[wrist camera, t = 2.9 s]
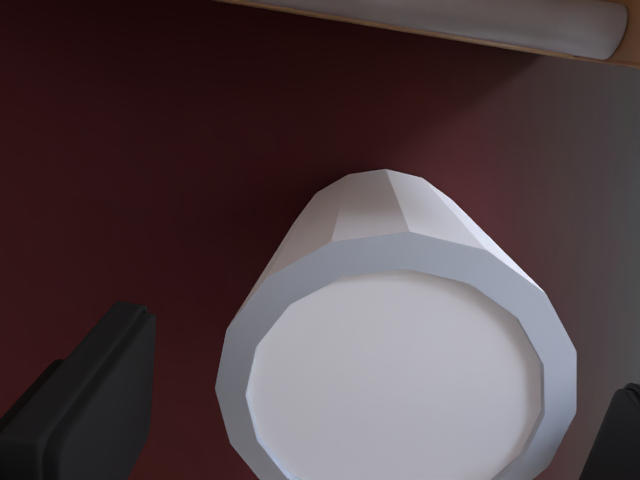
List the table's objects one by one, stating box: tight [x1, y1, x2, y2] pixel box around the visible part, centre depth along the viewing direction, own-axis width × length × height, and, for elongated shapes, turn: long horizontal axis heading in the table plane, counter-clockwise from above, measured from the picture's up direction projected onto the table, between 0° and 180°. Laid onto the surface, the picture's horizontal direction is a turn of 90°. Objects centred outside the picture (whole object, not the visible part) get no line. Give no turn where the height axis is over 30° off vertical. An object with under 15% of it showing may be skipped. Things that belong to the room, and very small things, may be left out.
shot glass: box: [215, 169, 576, 480], centre depth 14 cm, size 7×7×7 cm
